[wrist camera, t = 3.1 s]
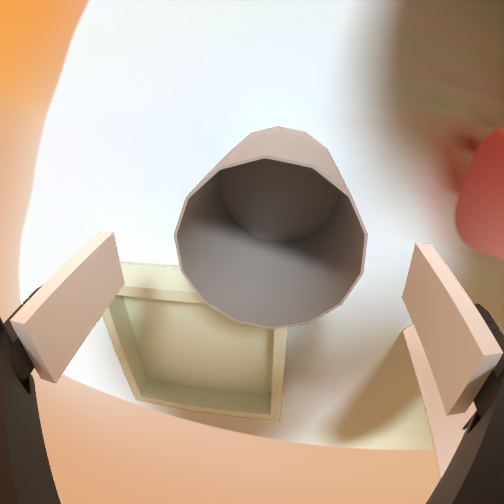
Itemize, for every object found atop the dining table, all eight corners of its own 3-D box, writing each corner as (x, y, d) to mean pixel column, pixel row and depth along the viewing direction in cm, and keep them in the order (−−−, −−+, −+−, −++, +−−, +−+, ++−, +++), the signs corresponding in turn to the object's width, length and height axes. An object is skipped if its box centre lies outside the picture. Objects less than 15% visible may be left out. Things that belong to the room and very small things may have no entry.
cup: (240, 248, 25) (211, 336, 17) (206, 146, 22) (146, 189, 13) (349, 225, 23) (376, 310, 15) (325, 115, 20) (350, 136, 11)
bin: (110, 261, 28) (91, 282, 25) (290, 272, 26) (289, 298, 23) (145, 377, 35) (135, 399, 32) (282, 394, 33) (279, 420, 30)
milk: (401, 329, 27) (447, 566, 8) (454, 293, 25) (544, 523, 6) (425, 360, 29) (467, 560, 10) (473, 329, 26) (543, 525, 7)
